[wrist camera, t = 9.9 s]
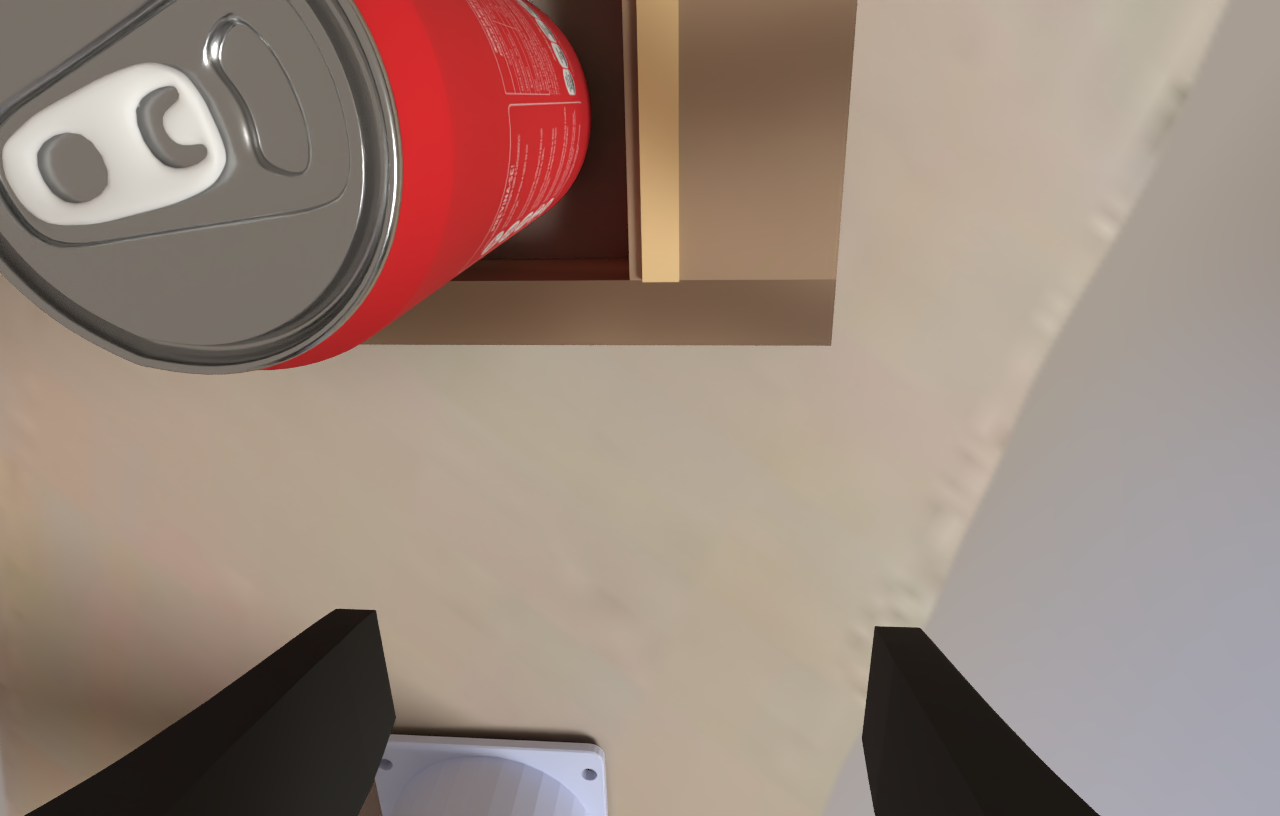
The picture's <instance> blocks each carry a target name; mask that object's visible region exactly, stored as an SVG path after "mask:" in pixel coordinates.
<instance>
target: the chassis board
mask: <svg viewBox="0 0 1280 816" xmlns="http://www.w3.org/2000/svg"><path fill="white" fill-rule="evenodd" d="M856 11H857V0H622V23H623V59H624V94H625V130H626V166H627V202H628V238H629V259H493V260H478V261H477V262H476V263H474V264H473V265H471V266H470V267H469V268H467V269H466V270H464V271H463V272H462V273H460V274H459V275H457V276H456V277H455V278H453V279H452V280H450V281H449V282H448V283H446V284H445V285H444V286H442V287H441V288H439V289H438V290H437V291H435V292H434V293H432V294H431V295H430V296H428V297H427V298H425V299H424V300H423V301H421V302H420V303H418V304H417V305H416V306H414V307H413V308H411V309H410V310H409V311H407V312H406V313H404V314H403V315H402V316H400V317H399V318H397V319H396V320H395V321H393V322H392V323H390V324H389V325H388V326H386V327H385V328H383V329H382V330H380V331H379V332H378V333H376V334H375V335H373V336H372V337H370V338H369V339H368V340H366V341H364V342H363V343H361V344H407V345H824V346H831V340H832V326H833V313H834V300H835V287H836V274H837V261H838V247H839V234H840V221H841V208H842V195H843V182H844V168H845V155H846V142H847V129H848V116H849V103H850V90H851V76H852V63H853V50H854V37H855V24H856Z"/></svg>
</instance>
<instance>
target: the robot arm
mask: <svg viewBox="0 0 1280 816" xmlns="http://www.w3.org/2000/svg"><path fill="white" fill-rule="evenodd" d="M395 719H396V716H395V711H394V705H393V700H392V695H391V689H390V684H389V679H388V673H387V668H386V663H385V657H384V652H383V646H382V641H381V636H380V630H379V625H378V620H377V614H376V610H356V609H335V610H334V611H332V612H331V613H329V614H328V615H326V616H324V617H323V618H322V619H320V620H319V621H317V622H316V623H314V624H313V625H311V626H310V627H309V628H307V629H306V630H304V631H303V632H302V633H300V634H299V635H298V636H296V637H295V638H293V639H292V640H291V641H289V642H288V643H287V644H285V645H284V646H283V647H281V648H280V649H278V650H277V651H276V652H274V653H273V654H272V655H270V656H269V657H268V658H266V659H265V660H263V661H262V662H261V663H259V664H258V665H257V666H255V667H254V668H252V669H251V670H250V671H248V672H247V673H245V674H244V675H243V676H241V677H240V678H239V679H237V680H236V681H234V682H233V683H232V684H230V685H229V686H227V687H226V688H225V689H223V690H222V691H220V692H219V693H218V694H216V695H215V696H214V697H212V698H211V699H209V700H208V701H207V702H205V703H204V704H202V705H201V706H199V707H198V708H196V709H195V710H193V711H192V712H190V713H189V714H187V715H186V716H184V717H183V718H181V719H180V720H178V721H177V722H175V723H174V724H172V725H171V726H169V727H168V728H166V729H165V730H163V731H162V732H160V733H159V734H157V735H156V736H154V737H153V738H152V739H150V740H149V741H147V742H146V743H144V744H143V745H141V746H140V747H138V748H137V749H135V750H134V751H132V752H131V753H129V754H127V755H126V756H124V757H123V758H121V759H120V760H118V761H116V762H115V763H113V764H112V765H110V766H108V767H107V768H105V769H103V770H102V771H100V772H99V773H97V774H95V775H94V776H92V777H90V778H89V779H87V780H85V781H84V782H82V783H80V784H79V785H77V786H75V787H73V788H72V789H70V790H68V791H67V792H65V793H63V794H61V795H60V796H58V797H56V798H54V799H53V800H51V801H49V802H48V803H46V804H44V805H42V806H41V807H39V808H37V809H35V810H34V811H32V812H30V813H28V814H26V815H25V816H358V814H359V812H360V810H361V808H362V806H363V803H364V801H365V799H366V797H367V795H368V793H369V791H370V789H371V787H372V784H373V782H374V779H375V782H376V787H377V792H378V797H379V802H380V806H381V811H382V816H608V806H607V787H606V768H605V755H604V751H603V750H602V749H601V748H600V747H598V746H597V745H595V744H590V743H569V742H547V741H525V740H504V739H482V738H461V737H439V736H417V735H396V734H391V731H392V728H393V725H394V722H395ZM862 742H863V748H864V755H865V761H866V767H867V773H868V779H869V785H870V790H871V795H872V801H873V807H874V812H875V816H1100V815H1099V814H1098V813H1096V812H1095V811H1094V810H1093V809H1092V808H1091V807H1090V806H1089V805H1088V804H1087V803H1086V802H1085V801H1083V799H1081V798H1080V797H1079V796H1078V795H1077V794H1076V793H1075V792H1074V791H1073V790H1072V789H1071V788H1070V787H1069V786H1068V785H1067V784H1066V783H1065V782H1063V781H1062V780H1061V779H1060V778H1059V777H1058V776H1057V775H1056V774H1055V773H1054V772H1053V771H1052V770H1051V769H1050V768H1049V767H1048V766H1047V765H1046V764H1045V763H1044V762H1043V761H1042V760H1041V759H1040V758H1039V757H1038V756H1037V755H1036V754H1035V753H1034V752H1033V751H1032V750H1031V749H1030V748H1029V747H1028V746H1027V745H1026V743H1025V742H1024V741H1022V739H1021V738H1020V737H1019V736H1018V735H1017V734H1016V733H1015V732H1014V731H1013V730H1012V729H1011V728H1010V727H1009V726H1008V725H1007V724H1006V723H1005V722H1004V721H1003V719H1002V718H1001V717H1000V716H999V715H998V714H997V713H996V712H995V711H994V710H993V709H992V708H991V707H990V706H989V704H988V703H987V702H986V701H985V700H984V699H983V698H982V697H981V696H980V695H979V693H978V692H977V691H976V690H975V689H974V688H973V687H972V686H971V685H970V683H969V682H968V681H967V680H966V679H965V678H964V677H963V676H962V674H961V673H960V672H959V671H958V670H957V669H956V668H955V667H954V665H953V664H952V663H951V662H950V661H949V660H948V659H947V658H946V656H945V655H944V654H943V653H942V652H941V651H940V650H939V648H938V647H937V646H936V645H935V644H934V643H933V641H932V640H931V639H930V638H929V637H928V636H927V635H926V634H925V633H924V632H923V631H922V630H921V628H911V627H880V626H875V630H874V638H873V647H872V656H871V664H870V673H869V682H868V690H867V699H866V708H865V716H864V725H863V733H862ZM386 759H388V760H386ZM587 769H592V770H593V771H590V770H587Z"/></svg>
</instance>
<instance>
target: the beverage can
mask: <svg viewBox="0 0 1280 816" xmlns="http://www.w3.org/2000/svg"><path fill="white" fill-rule="evenodd" d="M590 133H591V103H590V95H589V90H588V85H587V82H586V78H585V75H584V72H583V69H582V66H581V64H580V62H579V60H578V57H577V55H576V53H575V51H574V50H573V48H572V46H571V45H570V43H569V41H568V40H567V38H566V37H565V36H564V34H563V33H562V31H561V30H560V29H559V28H558V27H557V26H556V24H555V23H554V22H553V21H552V20H551V19H550V18H549V17H548V16H547V15H546V14H544V13H543V12H542V11H541V10H540V9H538V8H537V7H536V6H534V5H533V4H532V3H530V2H528V1H527V0H0V272H1V273H2V274H3V275H4V276H5V277H6V278H7V279H8V280H9V281H10V282H11V283H12V284H13V285H14V286H15V287H16V288H17V289H18V290H19V291H20V292H21V293H22V294H23V295H25V296H26V297H27V298H28V299H29V300H30V301H32V302H33V303H34V304H35V305H36V306H37V307H39V308H40V309H41V310H43V311H44V312H45V313H47V314H48V315H49V316H51V317H52V318H53V319H55V320H56V321H58V322H59V323H61V324H62V325H64V326H65V327H66V328H68V329H69V330H71V331H73V332H74V333H76V334H78V335H80V336H81V337H83V338H85V339H86V340H88V341H90V342H92V343H94V344H96V345H97V346H99V347H101V348H103V349H105V350H107V351H109V352H111V353H113V354H115V355H117V356H120V357H122V358H124V359H126V360H128V361H131V362H133V363H135V364H138V365H141V366H145V367H151V368H156V369H162V370H168V371H174V372H182V373H191V374H206V375H219V374H235V373H243V372H249V371H255V370H276V369H286V368H293V367H299V366H305V365H308V364H312V363H316V362H320V361H323V360H326V359H329V358H331V357H334V356H337V355H339V354H341V353H343V352H346V351H348V350H350V349H352V348H354V347H355V346H357V345H359V344H361V343H363V342H364V341H366V340H368V339H369V338H370V337H372V336H373V335H375V334H376V333H378V332H379V331H380V330H382V329H383V328H385V327H386V326H388V325H389V324H390V323H392V322H393V321H395V320H396V319H397V318H399V317H400V316H402V315H403V314H404V313H406V312H407V311H409V310H410V309H411V308H413V307H414V306H416V305H417V304H418V303H420V302H421V301H423V300H424V299H425V298H427V297H428V296H430V295H431V294H432V293H434V292H435V291H437V290H438V289H439V288H441V287H442V286H444V285H445V284H446V283H448V282H449V281H450V280H452V279H453V278H455V277H456V276H457V275H459V274H460V273H462V272H463V271H464V270H466V269H467V268H469V267H470V266H471V265H473V264H474V263H476V262H477V261H478V260H480V259H481V258H483V257H484V256H485V255H487V254H488V253H490V252H491V251H492V250H494V249H495V248H497V247H498V246H499V245H501V244H502V243H504V242H505V241H506V240H508V239H509V238H511V237H512V236H513V235H515V234H516V233H518V232H519V231H520V230H522V229H523V228H525V227H526V226H527V225H529V224H530V223H532V222H533V221H534V220H536V219H537V218H539V217H540V216H541V215H543V214H544V213H546V212H547V211H548V210H549V209H551V208H552V207H553V206H554V205H555V204H556V203H557V202H558V201H559V200H560V199H561V198H562V197H563V196H564V195H565V194H566V192H567V191H568V190H569V188H570V187H571V186H572V184H573V182H574V181H575V179H576V177H577V175H578V173H579V171H580V169H581V167H582V164H583V162H584V159H585V156H586V153H587V149H588V145H589V139H590Z"/></svg>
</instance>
